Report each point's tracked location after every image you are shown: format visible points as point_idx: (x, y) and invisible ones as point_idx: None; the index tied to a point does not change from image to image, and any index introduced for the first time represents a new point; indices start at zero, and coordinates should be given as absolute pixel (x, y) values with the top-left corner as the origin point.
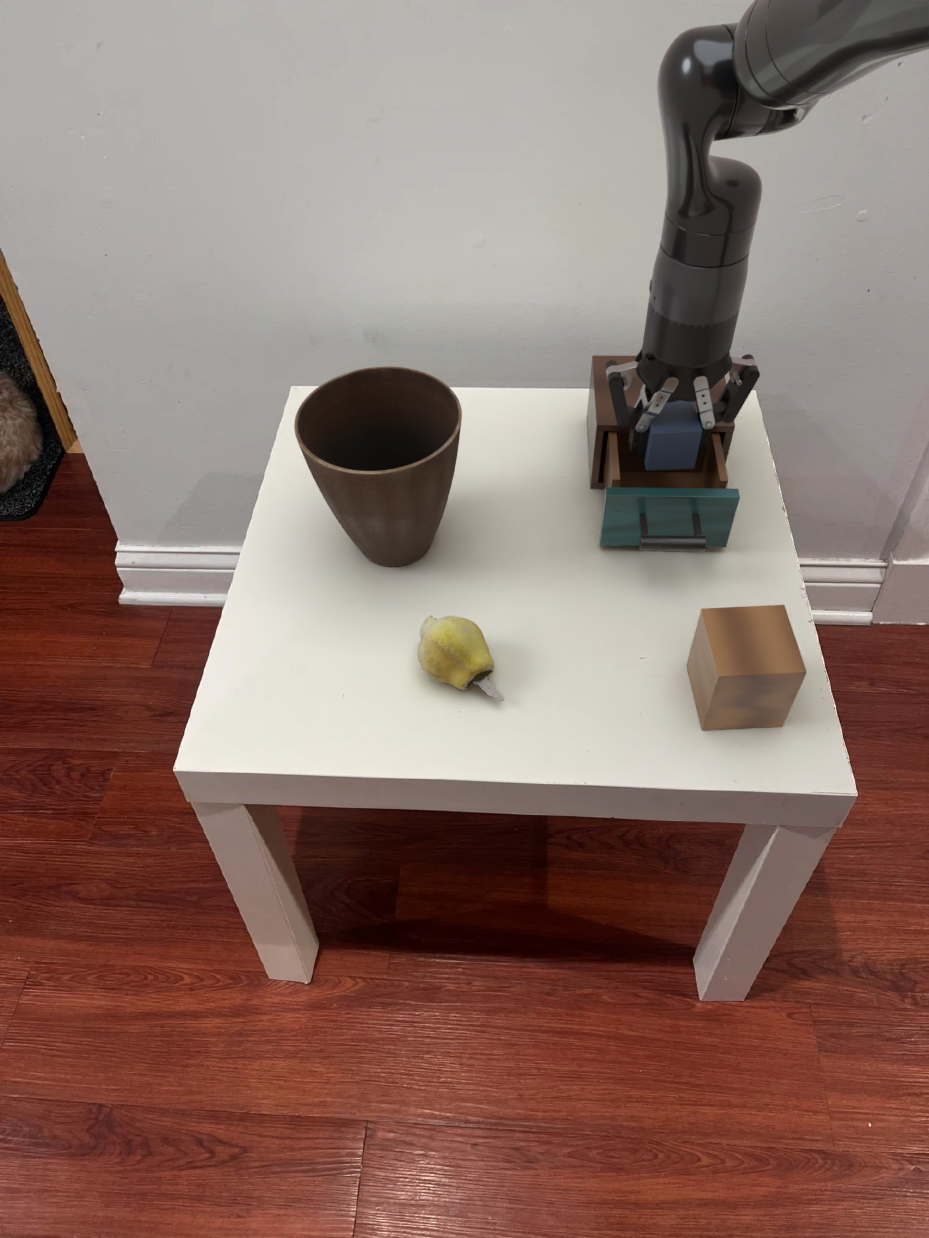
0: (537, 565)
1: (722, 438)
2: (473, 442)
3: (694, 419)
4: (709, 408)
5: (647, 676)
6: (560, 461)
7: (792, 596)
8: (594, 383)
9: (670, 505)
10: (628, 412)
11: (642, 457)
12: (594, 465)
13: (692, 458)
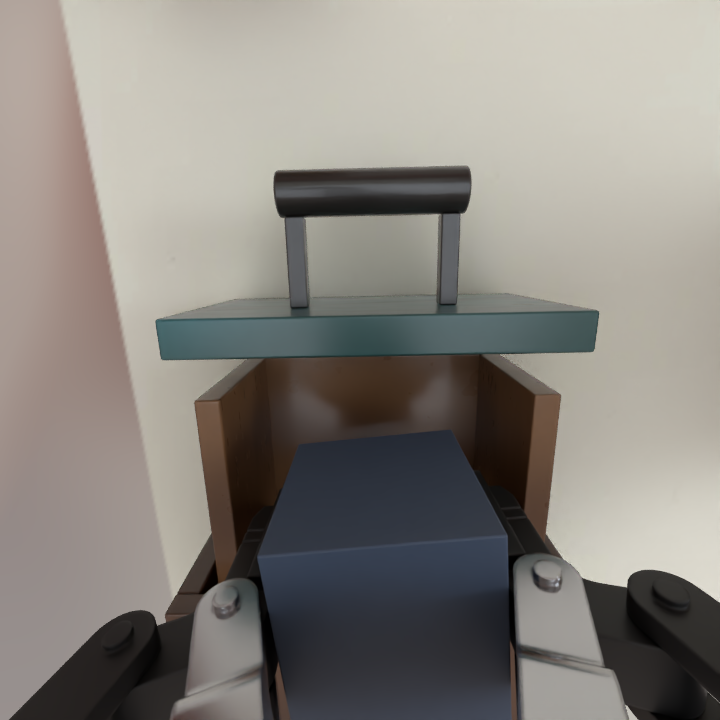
0: (639, 246)
1: (215, 577)
2: (716, 580)
3: (292, 629)
4: (191, 713)
5: None
6: (551, 537)
7: (100, 177)
8: None
9: (375, 310)
10: (653, 666)
11: None
12: None
13: (304, 464)
